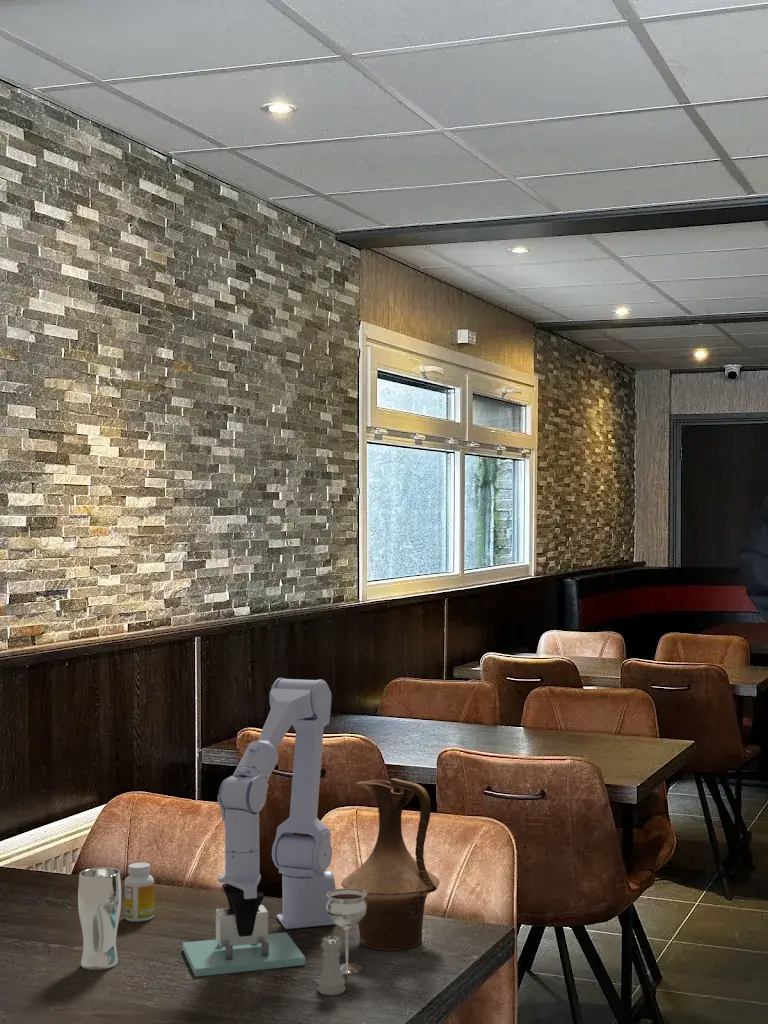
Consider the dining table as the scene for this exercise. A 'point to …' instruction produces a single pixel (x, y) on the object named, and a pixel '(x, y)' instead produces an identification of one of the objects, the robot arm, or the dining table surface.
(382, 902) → the pitcher
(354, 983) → the dining table surface
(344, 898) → the wineglass
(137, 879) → the supplement bottle
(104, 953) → the beer glass
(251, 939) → the block
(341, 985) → the rook chess piece
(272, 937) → the pin tray
